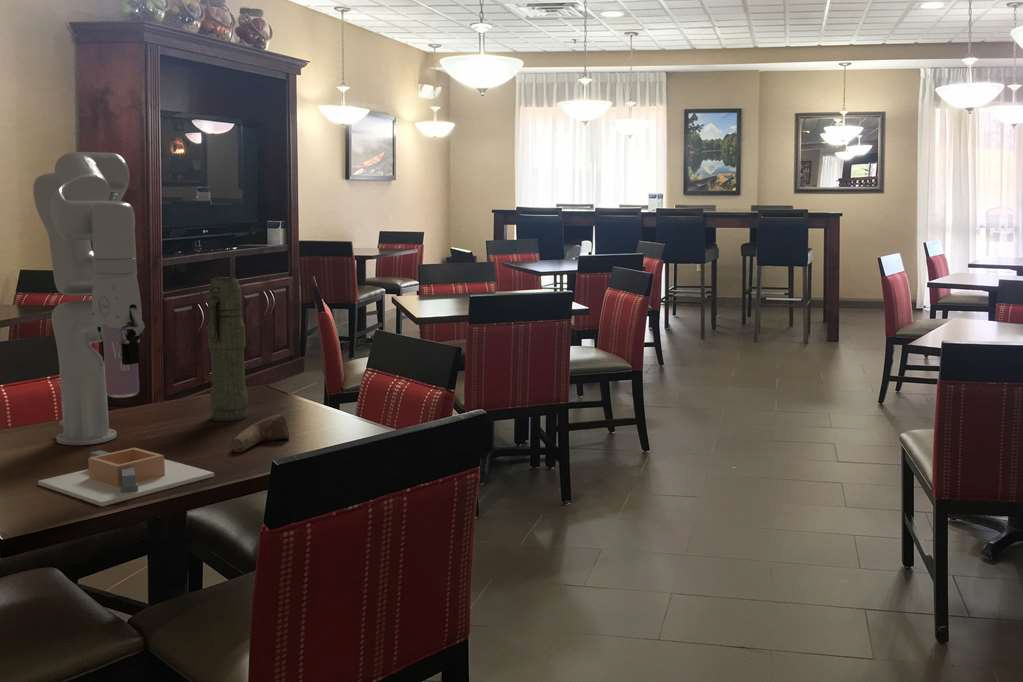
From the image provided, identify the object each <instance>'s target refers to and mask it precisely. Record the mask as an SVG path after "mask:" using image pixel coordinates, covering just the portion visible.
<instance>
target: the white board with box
mask: <svg viewBox="0 0 1023 682" xmlns="http://www.w3.org/2000/svg"><path fill="white" fill-rule="evenodd" d="M89 453H90V457H88V458H87V460H88V468H86V469H84V470H79V471H75V472H70V473H67V474H66V473H65V474H61V475H57V476H53V477H49V478H45V479H40V480H38V481H37V483H38V485H39V486H41V487H44V488H47V489H49V490H53V491H56V492H59V493H62V494H64V495H67V496H70V497H74V498H75V499H78V500H81V499H82V501H85V502H88V503H91V504H93V505H97V506H99V507H106V506H108V505H112V504H117V503H120V502H124V501H128V500H131V499H134V498H139V497H142V496H146V495H149V494H154V493H157V492H162V491H165V490H169V489H172V488H176V487H180V486H183V485H187V484H191V483H192V484H193V483H196V482H198V481H202V480H205V479H209V478H214V477H215V472H214V471H210V470H206V469H202V468H199V467H195V466H193V465H192V466H191V465H189V464H184V463H180V462H177V461H173V460H169V459H165V455H164V454H160V453H156V452H153V451H148V450H145V449H141V448H138V447H131V448H127V449H122V450H117V451H114V452H108V451H105V450H101V449H99V450H96V451H90V452H89Z"/></svg>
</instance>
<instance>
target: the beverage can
mask: <svg viewBox="0 0 1023 682" xmlns="http://www.w3.org/2000/svg"><path fill="white" fill-rule="evenodd" d="M129 326H132V324H127V325H126V326H125V327H129ZM102 329H103V346H104V363H105V380H106V393H107V397H110V398H115V399H116V398H118V399H119V398H121V399H122V398H129V397H134V396H137V395H138V394H139V392H140V377H139V374H140V373H139V363H136V364H129V365H123V363H122V345H121V344H124V342H123V338H122V334H121V331H120V329H118V330H116V329H111V328H109V327H108V326H107V324H103V327H102ZM130 331H131V330H130ZM130 331H127V334H128V335H129V333H130Z"/></svg>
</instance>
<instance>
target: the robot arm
mask: <svg viewBox="0 0 1023 682" xmlns="http://www.w3.org/2000/svg"><path fill="white" fill-rule="evenodd" d="M129 184H130V169H129V167H128V164H127V162H126V160H125V159H124V158H123V157H122V155H119V154H118V153H116V152H103V151H102V152H99V151H98V152H97V151H96V152H95V151H93V152H92V151H91V152H90V151H74V152H73V151H71V152H68V153H64V154H63V155H61V156H60V157H59V158H58V159H57V160H56V162H55V166H54V172H51V173H50V172H49V173H44V174H41V175H39V176H37V177H36V178H35V180H34V181H33V185H32V186H33V187H32V189H33V190H32V191H33V199H34V204H35V207H36V211H37V213H38V216H39V218H40V220H41V222H42V224H43V226H44V228H45V229H46V233H47V236H48V240H49V249H50V256H51V257H50V258H51V266H52V272H53V273H52V274H53V275H52V276H53V280H54V281H53V282H54V285H55V288H56V290H57V291H58V292H59V293H60V294H62V295H65V296H90V295H91V299H85V300H84V299H83V300H71V301H66V302H62V303H60V304H58V305H56V306H55V307H54V309H52V312H51V326H52V330H53V335H54V339H55V343H56V349H57V357H58V367H59V371H58V372H59V382H60V396H61V397H60V398H61V411H62V412H61V413H62V420H60V421H59V426H61V427H63V430H62V431H63V432H61V433H59V434H58V435H56V437H55V438H56V439H55V440H56V443H58V444H61V445H63V446H64V445H65V446H87V445H95V444H102V443H106V442H109V441H113V440H114V439H115V438H116V437H117V436H118V435H117V434H118V433H117V431H116V430H115V429H113V428H110V425H109V422H110V421H109V406H108V394H107V393H106V380H105V363H104V346H103V329H102V327H103V324H107V326H108V327H109V328H111V329H116V330H118V329H120V331H121V334H122V338H123V342H124V344H121V345H122V363H123V365H129V364H136V363H138V364H139V363H140V350H139V349H140V347H139V343H140V341H141V339H140V337H141V336H142V333H143V331H144V330H145V328H146V327H145V326H146V325H145V323H144V321H143V319H142V318H143V314H142V313H143V311H142V301H141V294H140V288H139V281H138V269H137V268H138V266H137V251H136V250H137V247H136V217H135V216H136V215H135V212H134V207H133V206H132V205H131V204H130V203H128V202H125V201H122V199H123V198H124V196H125V194H126V191H127V190H128V187H129ZM91 241H92V242H91ZM127 324H132V326H129V327H125V326H126V325H127ZM130 330H131V331H130ZM127 331H130V333H129V335H128V334H127ZM99 342H100V343H101V353H102V355H101V354H100V352H98V351H97V350H96V349H95V348H94V347H93V346H92V344H93V343H94V344H96V343H99Z"/></svg>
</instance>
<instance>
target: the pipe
mask: <svg viewBox="0 0 1023 682" xmlns="http://www.w3.org/2000/svg"><path fill="white" fill-rule="evenodd" d="M290 436H291V435H290V431H289V428H288V424H287V418H286V415H285V413H284V412H281V413H278V414H274V415H271V416H268V417H265V418H262V419H261V420H259V421H257V422H255V423H254V424H253V423H252V424H251V425H249V426H248V427H247V428H246V429H244V430H242V431H241V432H240V433H238V435H237V436H235V438H234V439H233V440H232V441H231V443H230V448H231V449H232V451H233V452H234V453H243V452H244V451H246V450H248V449H250V448H252V447H253V446H255V445H257V444H258V443H260V442H269V441H270V442H271V441H279V440H287V439H288V440H290Z"/></svg>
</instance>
